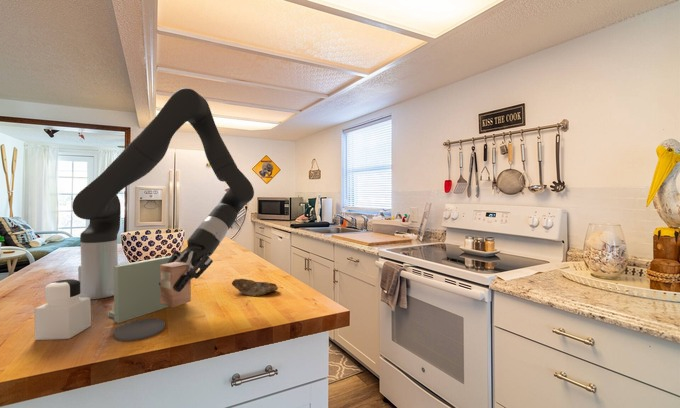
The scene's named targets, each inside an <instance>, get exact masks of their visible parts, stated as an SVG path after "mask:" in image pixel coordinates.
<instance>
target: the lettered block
mask: <svg viewBox="0 0 680 408" xmlns="http://www.w3.org/2000/svg"><path fill="white" fill-rule="evenodd" d="M186 268H187V264H186V263H185V262H172V263H167V264H162V265H160V300H161V304H163V305H167V306H169V307H171V308H175V307H177V306H178V307H179V306H182V305H184V304H187V303H190V302H191V301H192V296H191V295H192V293H191V292H192V291H191V290H192V289H191V287H192V286H191V284H192V282H191V281H192V279H191V280H189V281H188V282H187V284H186V285H185V286H184V288H183V289H182V290H181V291H180V292H177V291H176V290H174V289H173V286H174V284H175V283H176V282H177V280H178V279H179V278H180V277H181V275H183V273H184V271H185V269H186Z"/></svg>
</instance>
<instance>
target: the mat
mask: <svg viewBox="0 0 680 408" xmlns="http://www.w3.org/2000/svg"><path fill="white" fill-rule="evenodd" d="M165 324H166V323H165V320H163V319H160V318H154V317H152V318H143V319H136V320H131V321H129V322H126V323H124V324H122V325H120V326H118V327H117V328H116V329H115V330H114V331H113V339H115V340H117V341H120V342H133V341H140V340H144V339H148V338H151V337H154V336H156V335H158V334H161V332H163V331H164V330H165V328H166V325H165Z"/></svg>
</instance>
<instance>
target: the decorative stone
mask: <svg viewBox="0 0 680 408" xmlns="http://www.w3.org/2000/svg"><path fill="white" fill-rule="evenodd" d="M231 285H232V286H233V287H234V288H235V289H237V290H238V291H239V292H240V293H241V294H242V295H244V296H249V297H261V296H264V295H267V294H270V293H271V292H273V291H277V290H279V286H277V284H276V283H272V282H269V281H255V280H251V279H246V278H235V279H233V281H231Z"/></svg>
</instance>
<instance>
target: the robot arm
mask: <svg viewBox="0 0 680 408" xmlns="http://www.w3.org/2000/svg"><path fill="white" fill-rule="evenodd" d="M187 122H188V123H189V125H191V126H192V128H193V129H194V130H195V132H196V133H197V135H198V137H199V139H200V140H201V143H202V147H203V150H204V154H205V157H206V159H207V162H208V163H209V166H210V168H211V169H212V171H213V173H214V176H216V177H215V178H216V179H217V180H219V182H225V184H226V185H227V186H228V187H229V189H228V190H227V191H226V192H225V193H224V195H223V197H222V198H221V200H220V201H219V203H218V204H217V205H216V206H215V207H214V208H213V209H212V210H211V212H210V213H208V215H207V216H206V218H205V219H203V221H202V222H201V223H200V224H199V225H198V227H197V228H196V229H195V230H194V231H193V232H192V234H191V235H190V237H189V238H188V239H187V241H186V243H187V247H186V248H184V249H183V250H182V251H179V250H174V251H173V253H172V255H170V256H171V258H170V259H169V261H168V263H172V262H185V263H186V264H187V268H186V269H185V271H184V273H183V275H181V277H180V278H179V279H178V280H177V282H176V283H175V284H174V286H173V289H174V290H176V291H177V292H180V291H181V290H182V289H183V288H184V286H185V285H186V284H187V282H188V281H189V280H191V281H192V279H199V277H200V276H202V275H203V273H204V272H205V271H206V270H207V269H208V268H209V267H210V266H211V265H212V263H213V262H214V260H213V259H212V258H211V257H210V256H212V255H213V254H214V252H215V251H216V250H217V248H218V247H219V245H220V244H221V242H223V240H224V238H225V237H226V235H227V233H228V231H229V230H230V228H231V227H232V226H233V225H234V223H235V222H236V220H237V218H238V215H239V213H240V212H241V210H242V209H243V208H244V207H245V206H246V205H247V204H249V203H250V202H251V201H252V199H253V198H254V195H255V189H254V187H253V184H252V182H251V181H250V180H249V179H248V178H247V176H246V175H245V174H244V173H243V172H242V171H241V170H240V169H239V167H238V166H237V164H236V162H235V160H234V159H233V156H232V154H231V152H230V151H229V149H228V148H227V145H226V144H225V142H224V141H223V138H222V135H220V132H219V130H218V127H217V125H216V122H215V119H214V117H213V114H212V111H211V108H210V104H209V103H208V101H207V99H205V98H204V97H203V96H201V94H199V93H198V92H197V91H196V90H194V89H192V88H190V87H189V88H188V87H183V88H180V89H178V90H176V91H175V92H174V93H173V94H172V95H171V96H170V97H169V99H168V100H167V101H166V102H165V103H164V105H163V107H162V108H161V109H160V111H159V112H158V113H157V115H156V116H155V117H154V118H153V119H152V120H151V121H150V123H148V125H146V127H144V129H143V130H142V131H141V132H140V133H138V135H137V136H136V137H135V138H134V139H133V140H132V141H131V142H130V143H129V144H128V145H127V146H126V147H125V148H124V149H123V151H122V152H121V153H120V154H119V155H118V156H117V157H116V158H115V159H114V160H113V161H112V162H111V163H110V164H109V165H108V166H107V168H105V170H104V171H103V172H102V173H101V174H100V175H99V176H97V177H96V178H95V179H94V180H92V181H91V182H90V183H89V184H88V185H86V186H85V187H84V188H83V189H82V190H80V191H79V192H78V193H77V194H76V195H75V196H74V199H73V201H72V211H73V214H74V215H75V216H76V217H77V218H79V219H82V220H85V221H87V220H89V224H88V226H87V227H86V228H85V229H84V230H83V231H82V232H80V240H79V241H80V265H79V266H78V267H77V270H78V277H77V278H78V281H79V282H80V295H81V296H80V297H79V298H85V297H89V298H90V300H99V299H104V298H110V297H114V273H113V266H117V265H119V263H118V261H119V260H118V258H119V257H118V255H119V254H118V252H119V251H118V234H119V231H120V229H121V212H122V211H121V201H120V198H119V196H118V194H119V193H120V192H122V191H123V190H124V189H125V188H126V187H128V186H130V185H132V184H133V183H134V182H137V181H139V180H140V179H142V178H143V177H145V176H146V175H148V174H149V173H150V172H151V171H152V170H153V169H154V168H155V167H156V166H157V165H158V164H159V163H160V162H161V161H162V160H163V158H164V157H165V156H166V154H167V152H168V148H169V146H170V143H171V141H172V138H173V137H174V135H175V133H176V132H177V131H178V130H179V129H180V128H182V126H183V125H184V124H185V123H187ZM159 285H160V283H159Z"/></svg>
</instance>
